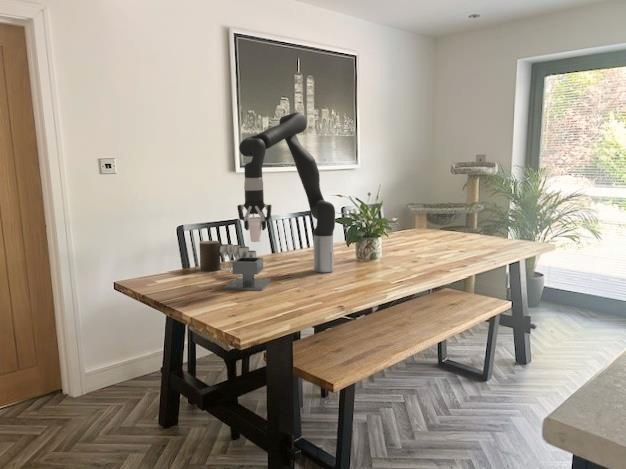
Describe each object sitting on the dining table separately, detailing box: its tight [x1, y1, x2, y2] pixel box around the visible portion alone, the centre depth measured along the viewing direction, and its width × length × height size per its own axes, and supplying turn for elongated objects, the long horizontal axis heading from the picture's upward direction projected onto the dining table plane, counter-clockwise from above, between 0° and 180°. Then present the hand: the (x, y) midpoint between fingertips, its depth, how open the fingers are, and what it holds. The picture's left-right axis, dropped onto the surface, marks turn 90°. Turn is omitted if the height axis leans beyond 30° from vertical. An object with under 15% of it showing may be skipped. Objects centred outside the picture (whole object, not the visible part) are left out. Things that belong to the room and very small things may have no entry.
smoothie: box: [247, 214, 262, 243], centre depth 199 cm, size 6×6×14 cm
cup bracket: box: [223, 256, 272, 292], centre depth 206 cm, size 16×16×11 cm
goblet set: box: [218, 243, 258, 278], centre depth 228 cm, size 28×6×13 cm, turn 43°
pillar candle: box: [199, 239, 222, 273], centre depth 236 cm, size 10×10×15 cm
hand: (255, 229), depth 199 cm, fingers closed on smoothie, 6 cm apart
